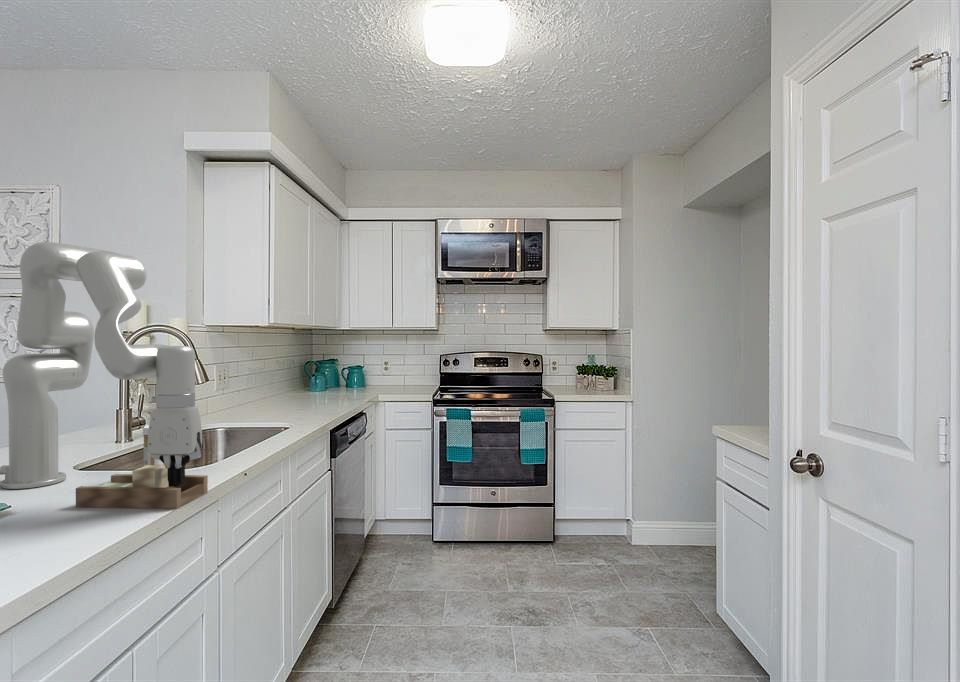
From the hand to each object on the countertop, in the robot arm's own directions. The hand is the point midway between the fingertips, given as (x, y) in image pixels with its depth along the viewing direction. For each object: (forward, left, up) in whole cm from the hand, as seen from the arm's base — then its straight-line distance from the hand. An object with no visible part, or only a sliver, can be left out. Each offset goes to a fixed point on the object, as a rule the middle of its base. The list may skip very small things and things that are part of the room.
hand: (176, 484), depth 124 cm
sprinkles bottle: (-16, +17, -4) cm, 24 cm away
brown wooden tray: (-7, 0, -3) cm, 8 cm away
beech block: (-6, 0, -1) cm, 6 cm away
